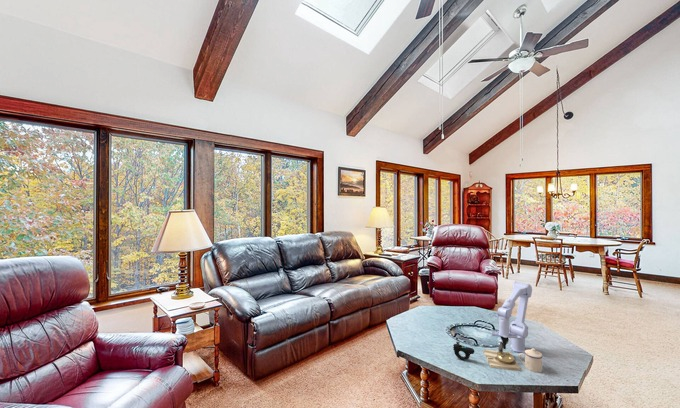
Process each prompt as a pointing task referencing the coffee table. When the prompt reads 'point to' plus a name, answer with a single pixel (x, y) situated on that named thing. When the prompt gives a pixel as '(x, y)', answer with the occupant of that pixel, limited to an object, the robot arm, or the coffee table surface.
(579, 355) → the coffee table surface
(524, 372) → the coffee table surface
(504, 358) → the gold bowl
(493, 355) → the slatted wooden board
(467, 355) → the controller
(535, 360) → the teacup with lid
